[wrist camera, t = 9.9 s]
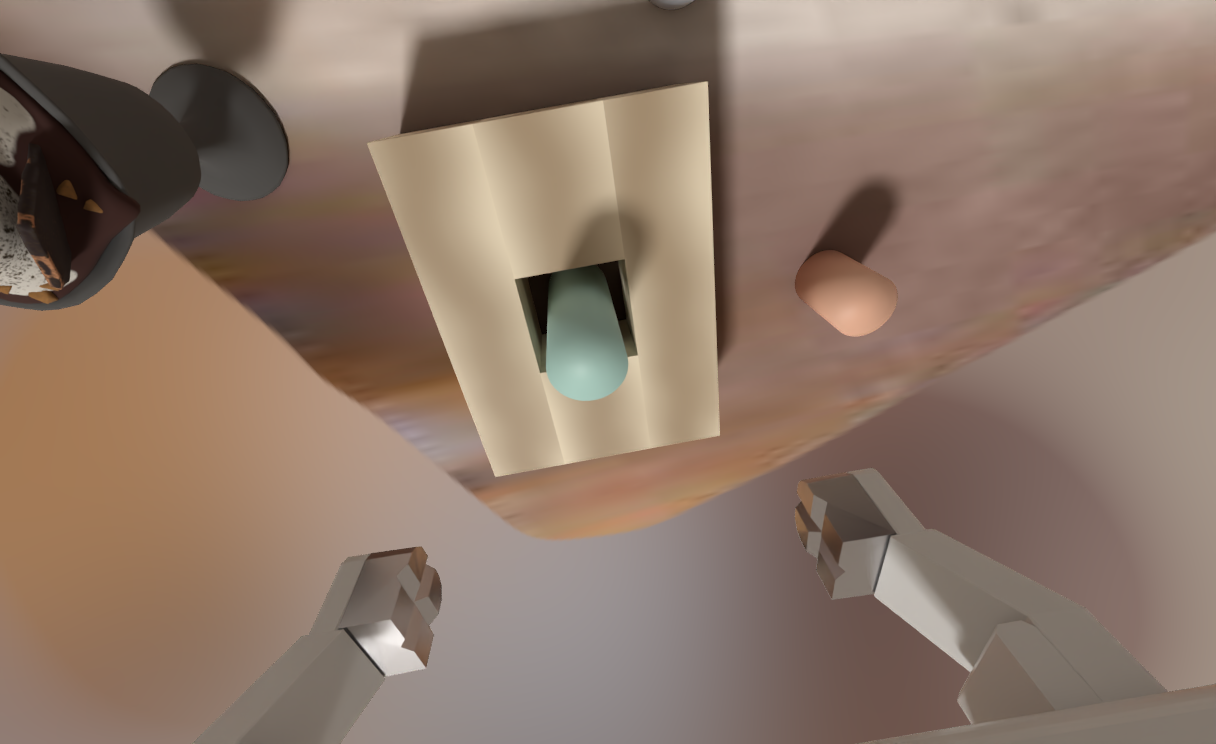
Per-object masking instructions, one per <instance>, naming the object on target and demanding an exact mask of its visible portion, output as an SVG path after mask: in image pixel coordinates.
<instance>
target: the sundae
mask: <svg viewBox="0 0 1216 744" xmlns="http://www.w3.org/2000/svg"><path fill="white" fill-rule="evenodd" d="M287 167H288V151H287V143H286V139H285V136H284V134H283V131H282V129H281V126H280V124H279V122H278V120H277V118H276V116H275V115H274V113H273V112H272V111H271V109H270V108H269V107H268V106H267V104H266V103H265V102H264V101H263V100H262V99H261V97H260V96H259V95H258V94H257V93H256V92H255V91H254V90H253V89H251V88H250V87H249V86H247V85H246V84H245V83H243V82H242V81H241V80H239V79H237V78H236V77H234V76H232V75H231V74H229V73H227V72H225V71H222V70H219V69H216V68H213V67H210V66H205V65H200V64H188V65H181V66H176V67H172V68H170V69H169V70H167V71H166V72H164V73H163V74H162V75H161V76H160V77H159V78H158V79H157V80H156V81H155V82H154V84H153V86H152V89H151V91H150V94H149V95H148V94H146V93H145V92H143V91H141V90H140V89H138V88H137V87H134V86H132V85H130V84H128V83H125V82H121V81H118V80H115V79H111V78H108V77H104V76H101V75H98V74H94V73H91V72H87V71H83V70H79V69H75V68H72V67H68V66H64V65H59V64H53V63H48V62H43V61H38V60H32V59H27V58H22V57H17V56H12V55H6V54H1V53H0V305H6V306H11V307H17V308H24V309H33V310H41V311H43V310H56V309H62V308H67V307H71V306H75V305H79V304H81V303H82V302H84V301H85V300H87V299H89V298H90V297H92V296H93V295H95V294H96V293H97V292H98V291H100V290H101V289H102V288H103V287H104V286H105V285H106V284H108V283H109V282H110V281H111V280H112V279H113V277H114V276H115V274H116V272H117V271H118V269H119V268H120V266H121V264H122V263H123V261H124V259H125V257H126V255H127V253H128V251H129V249H130V246H131V244H132V242H133V240H134V238H135V237H137V236H139V235H141V234H142V233H144V232H146V231H148V230H149V229H151V228H153V227H155V226H156V225H158V224H160V223H161V222H163V221H165V220H166V219H168V218H169V217H171V216H172V215H173V214H174V213H175V212H176V211H178V210H179V209H180V208H181V207H182V206H183V205H185V204H186V203H187V202H188V201H189V200H190V199H191V198H192V197H193V196H194V194H195V193H196V191H197V189H198V187H200V188H202V189H204V190H206V191H208V192H210V193H212V194H213V195H216V196H220V197H223V198H227V199H232V200H238V201H247V200H255V199H259V198H263V197H265V196H267V195H268V194H270V193H271V192H273V191H274V190H275V189H276V188H277V187H278V186H280V184H281V182H282V180H283V178H284V176H285V173H286V170H287Z"/></svg>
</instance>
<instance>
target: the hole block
mask: <svg viewBox="0 0 1216 744" xmlns="http://www.w3.org/2000/svg"><path fill="white" fill-rule="evenodd" d="M367 144H368V147H369V150H370V152H371V155H372V157H373V160H374V163H375V165H376V168H377V170H378V173H379V176H380V178H381V181H382V183H383V186H384V189H385V191H386V194H387V196H388V199H389V202H390V204H391V207H392V209H393V212H394V215H395V217H396V220H397V222H398V225H399V228H400V230H401V233H402V235H403V238H404V241H405V243H406V246H407V248H408V251H409V254H410V256H411V259H412V261H413V264H414V267H415V269H416V272H417V274H418V277H419V280H420V282H421V285H422V287H423V290H424V293H425V295H426V298H427V300H428V303H429V306H430V308H431V311H432V313H433V316H434V319H435V321H436V324H437V326H438V329H439V332H440V334H441V337H442V339H443V342H444V345H445V347H446V350H447V352H448V355H449V358H450V360H451V363H452V365H453V368H454V371H455V373H456V376H457V378H458V381H459V384H460V386H461V389H462V391H463V394H464V397H465V399H466V402H467V404H468V407H469V410H470V412H471V415H472V417H473V420H474V423H475V425H476V428H477V430H478V433H479V436H480V438H481V441H482V443H483V446H484V449H485V451H486V454H487V456H488V459H489V462H490V464H491V467H492V469H493V472H494V475H495V477H498V476H504V475H509V474H514V473H520V472H525V471H531V470H536V469H541V468H547V467H552V466H558V465H563V464H568V463H574V462H579V461H585V460H590V459H595V458H601V457H606V456H612V455H617V454H622V453H628V452H633V451H639V450H644V449H649V448H655V447H660V446H666V445H671V444H677V443H682V442H687V441H693V440H698V439H704V438H709V437H714V436H720V425H719V396H718V367H717V337H716V308H715V279H714V249H713V220H712V191H711V161H710V132H709V103H708V81H706V82H693V83H680V84H675V85H669V86H664V87H658V88H653V89H647V90H641V91H636V92H630V93H625V94H619V95H614V96H608V97H603V98H597V99H592V100H586V101H581V102H575V103H569V104H564V105H558V106H553V107H547V108H542V109H536V110H531V111H525V112H520V113H514V114H509V115H503V116H498V117H492V118H486V119H481V120H475V121H470V122H464V123H459V124H453V125H448V126H442V127H437V128H431V129H426V130H420V131H414V132H409V133H403V134H398V135H395V136H391V137H387V138H384V139H380V140H376V141H372V142H369V143H367ZM617 260H618V264H619V271H620V278H621V285H622V292H623V299H624V306H625V312H626V319H625V320H620V321H618V324H619V328H620V331H621V335H622V339H623V342H624V346H625V350H626V353H627V357H628V371H627V374H626V377H625V379H624V381H623V382H622V384H621V385H620V386H619V387H618V388H617V389H616V390H615V391H614V392H613V393H611V394H609V395H608V396H606V397H603V398H601V399H597V400H591V401H580V400H574V399H571V398H568V397H566V396H564V395H563V394H561V393H560V392H558V391H557V390H556V389H555V388H554V387H553V385H552V384H551V383H550V381H549V379H548V376H547V372H546V349H547V334H544V335H542V333H541V329H540V325H539V321H538V317H537V313H536V310H535V306H534V302H533V298H532V294H531V290H530V286H529V282H528V278H527V277H530V276H535V275H541V274H546V273H552V272H557V271H562V270H568V269H573V268H579V267H584V266H590V265H595V264H601V263H606V262H612V261H617Z"/></svg>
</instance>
